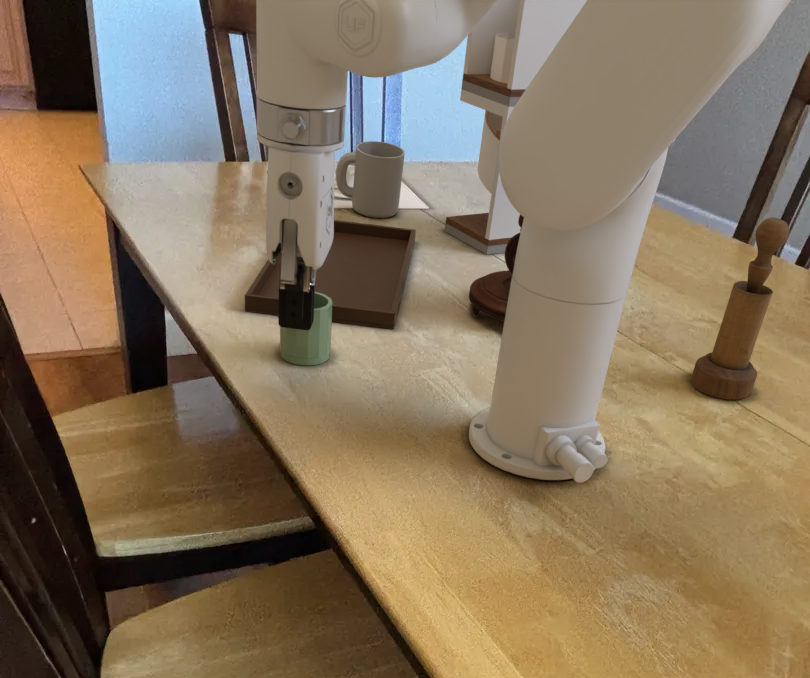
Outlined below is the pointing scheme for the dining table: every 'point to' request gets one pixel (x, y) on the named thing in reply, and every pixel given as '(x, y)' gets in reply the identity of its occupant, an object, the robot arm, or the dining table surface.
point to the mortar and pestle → (741, 323)
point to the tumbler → (309, 336)
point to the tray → (351, 275)
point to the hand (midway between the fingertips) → (296, 325)
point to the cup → (373, 178)
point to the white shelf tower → (504, 98)
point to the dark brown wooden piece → (495, 285)
